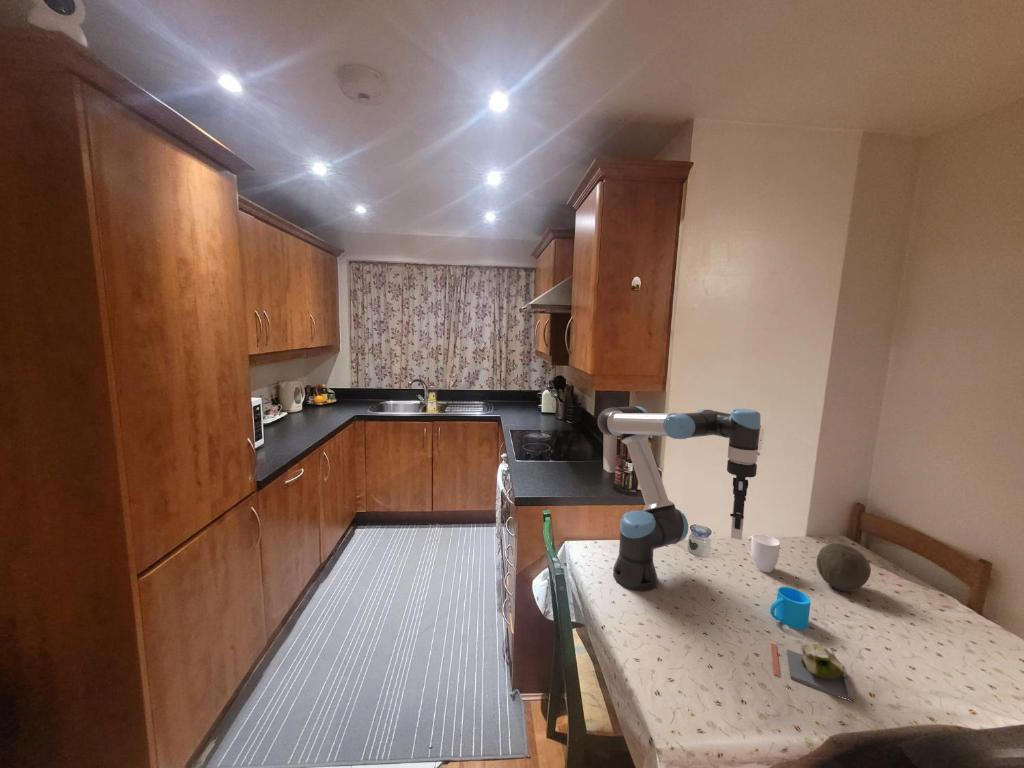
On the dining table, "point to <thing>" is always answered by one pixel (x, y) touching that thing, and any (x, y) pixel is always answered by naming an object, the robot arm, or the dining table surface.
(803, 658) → the fruit
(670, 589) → the dining table surface
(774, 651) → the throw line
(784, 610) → the mug
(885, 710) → the dining table surface
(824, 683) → the mat
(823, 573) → the dark grey round stone
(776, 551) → the mug
